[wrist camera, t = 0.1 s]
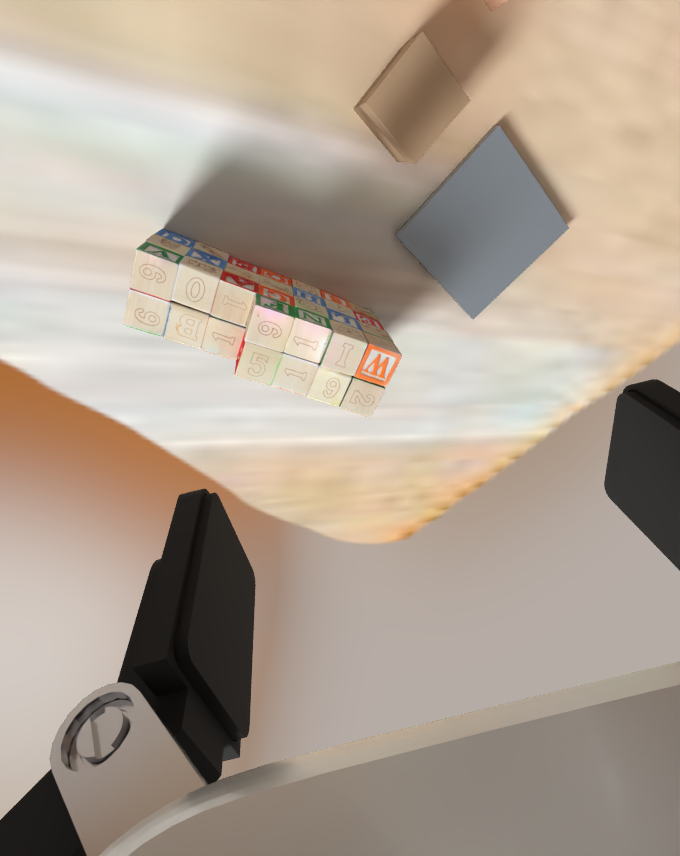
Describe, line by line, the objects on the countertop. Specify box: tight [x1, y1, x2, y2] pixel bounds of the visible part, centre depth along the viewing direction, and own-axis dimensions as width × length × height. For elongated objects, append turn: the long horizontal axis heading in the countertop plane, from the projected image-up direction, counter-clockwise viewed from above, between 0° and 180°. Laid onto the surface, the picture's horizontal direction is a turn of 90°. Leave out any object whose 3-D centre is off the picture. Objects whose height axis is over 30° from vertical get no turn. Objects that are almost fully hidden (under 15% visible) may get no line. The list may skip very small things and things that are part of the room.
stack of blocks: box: [123, 229, 402, 417], centre depth 40 cm, size 21×6×12 cm, turn 67°
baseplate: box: [395, 125, 569, 319], centre depth 43 cm, size 12×12×1 cm
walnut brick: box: [354, 31, 470, 163], centre depth 35 cm, size 6×6×6 cm
